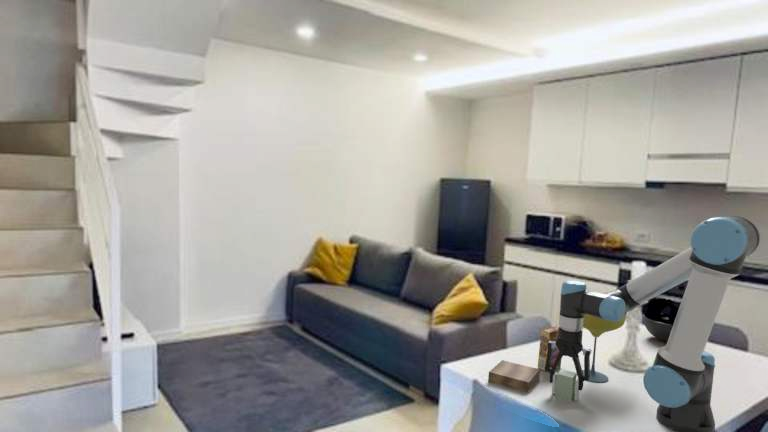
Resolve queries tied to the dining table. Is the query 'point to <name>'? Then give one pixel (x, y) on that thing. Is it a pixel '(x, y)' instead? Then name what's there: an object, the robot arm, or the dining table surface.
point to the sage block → (565, 385)
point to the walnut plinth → (514, 376)
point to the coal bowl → (660, 318)
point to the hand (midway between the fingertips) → (565, 395)
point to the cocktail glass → (596, 329)
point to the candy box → (547, 336)
